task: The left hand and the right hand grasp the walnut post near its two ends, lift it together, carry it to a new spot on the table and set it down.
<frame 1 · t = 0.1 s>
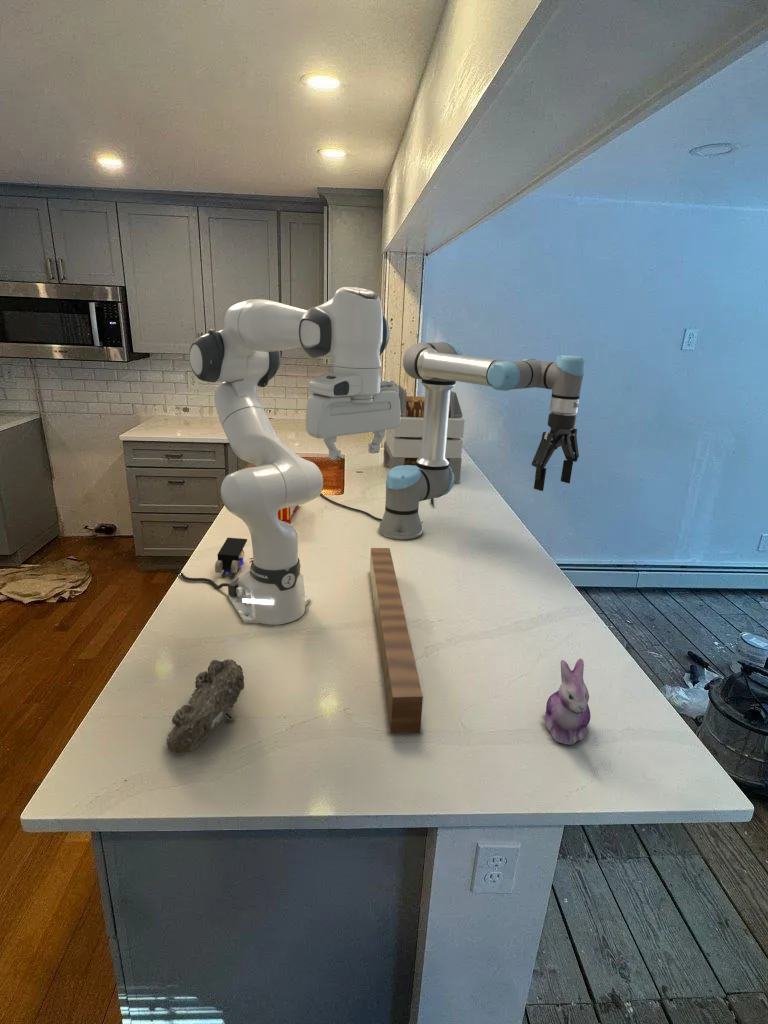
left hand: (354, 455, 108), 48 cm above the counter, tool pointing down, fingers open, 8 cm apart
right hand: (552, 485, 166), 28 cm above the counter, tool pointing down, fingers open, 13 cm apart
feather: (431, 497, 241), on the counter
toy: (282, 516, 211), on the counter
white boxy crate: (419, 473, 275), on the counter
figurine: (566, 729, 109), on the counter
figurine character: (232, 569, 168), on the counter
fossil: (212, 717, 108), on the counter
post: (389, 634, 138), on the counter
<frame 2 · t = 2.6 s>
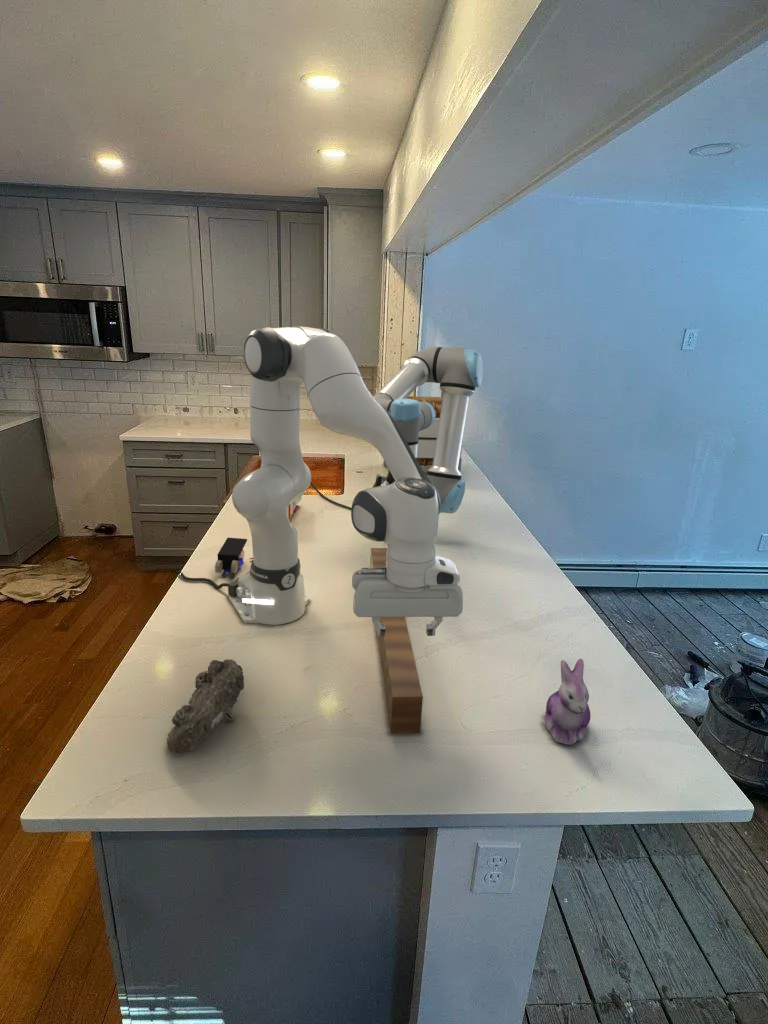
left hand: (405, 634, 107), 17 cm above the counter, tool pointing down, fingers open, 8 cm apart
right hand: (398, 532, 159), 16 cm above the counter, tool pointing down, fingers open, 13 cm apart
nothing on the counter moved.
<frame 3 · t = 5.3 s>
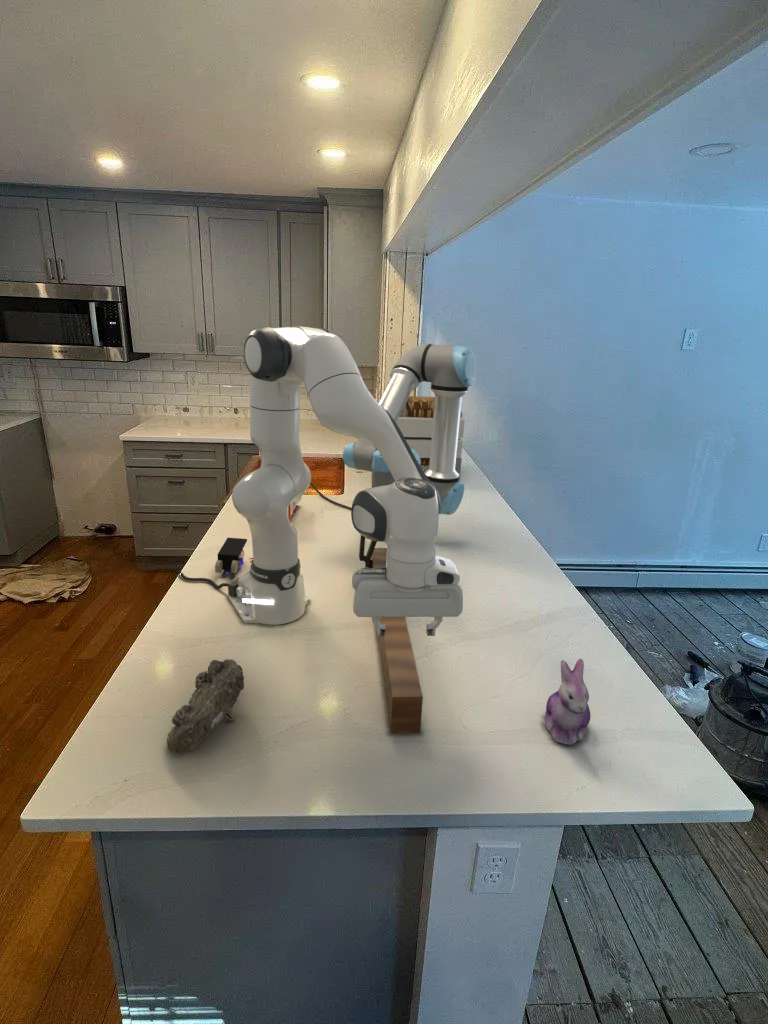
left hand: (405, 634, 107), 17 cm above the counter, tool pointing down, fingers open, 8 cm apart
right hand: (380, 582, 163), 1 cm above the counter, tool pointing down, fingers closed on post, 6 cm apart
post: (389, 634, 138), on the counter, touching right hand
everything else where it was.
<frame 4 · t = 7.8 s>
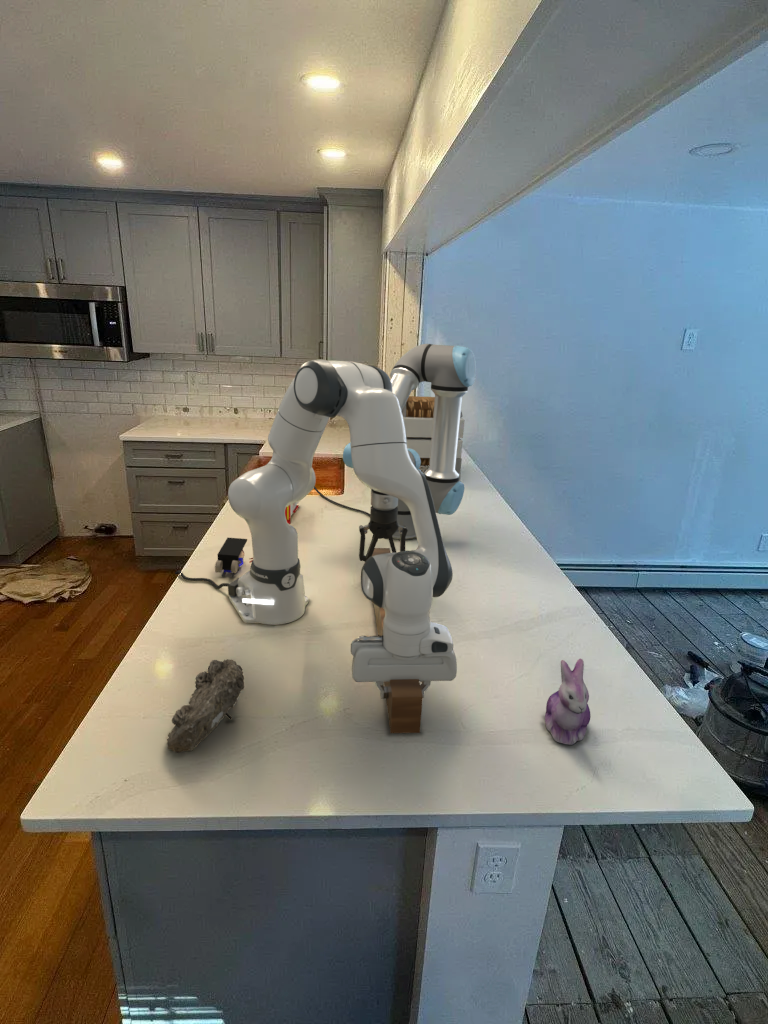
left hand: (402, 696, 112), 3 cm above the counter, tool pointing down, fingers closed on post, 5 cm apart
right hand: (380, 582, 163), 1 cm above the counter, tool pointing down, fingers closed on post, 6 cm apart
post: (389, 634, 138), on the counter, touching right hand, left hand
everything else where it was.
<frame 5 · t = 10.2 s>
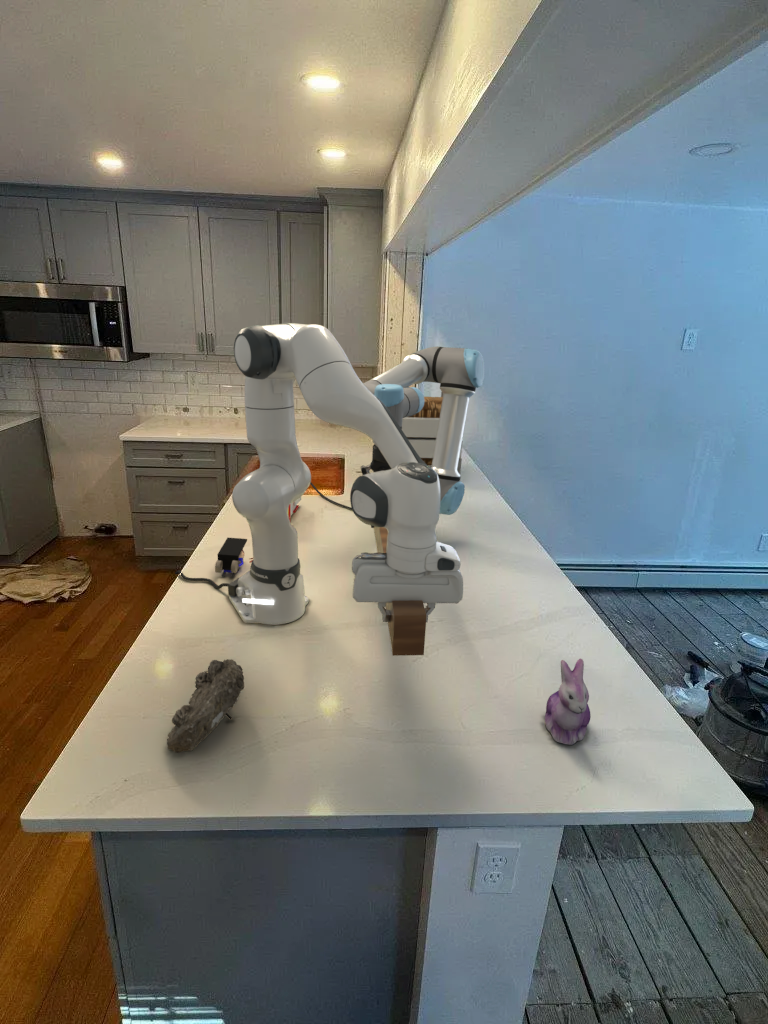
left hand: (404, 620, 106), 20 cm above the counter, tool pointing down, fingers closed on post, 5 cm apart
right hand: (383, 525, 158), 18 cm above the counter, tool pointing down, fingers closed on post, 6 cm apart
post: (392, 571, 132), point 17 cm above the counter, touching right hand, left hand
everything else where it was.
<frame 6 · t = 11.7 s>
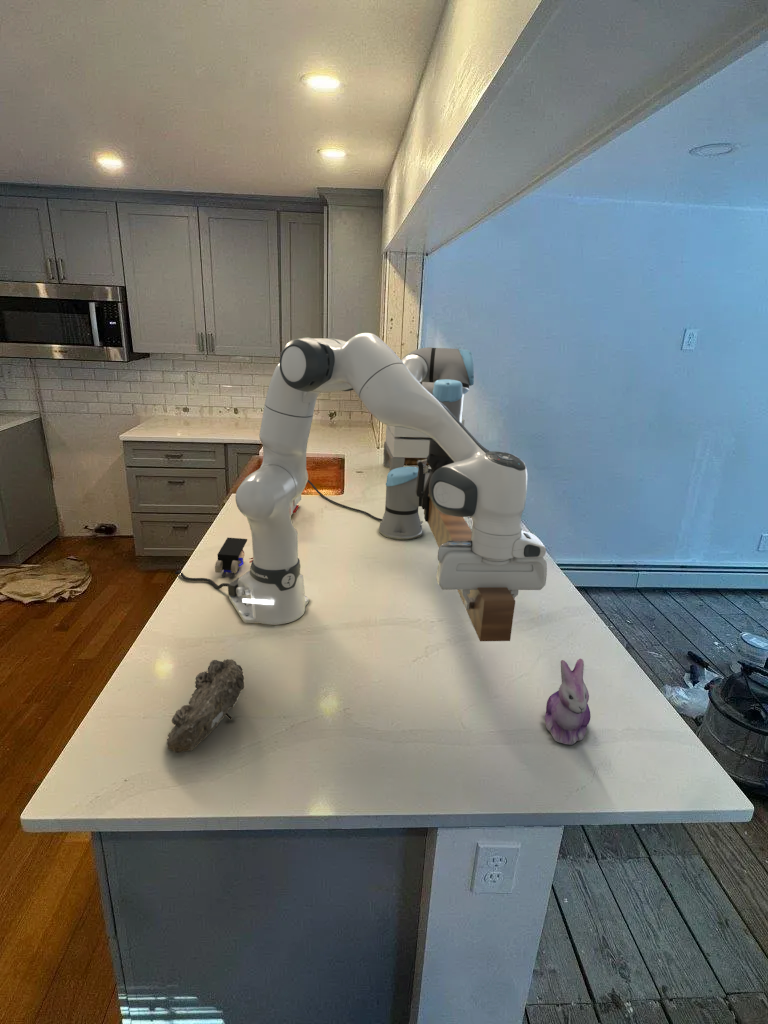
left hand: (487, 608, 108), 22 cm above the counter, tool pointing down, fingers closed on post, 5 cm apart
right hand: (437, 519, 160), 19 cm above the counter, tool pointing down, fingers closed on post, 6 cm apart
post: (456, 562, 134), point 19 cm above the counter, touching right hand, left hand
everything else where it was.
when the left hand's fingers open (4 cm above the counter, at t = 15.4 s): post drops 1 cm, on the counter.
when the right hand's fingers open (2 cm above the counter, at t = 15.4 s): post drops 1 cm, on the counter.
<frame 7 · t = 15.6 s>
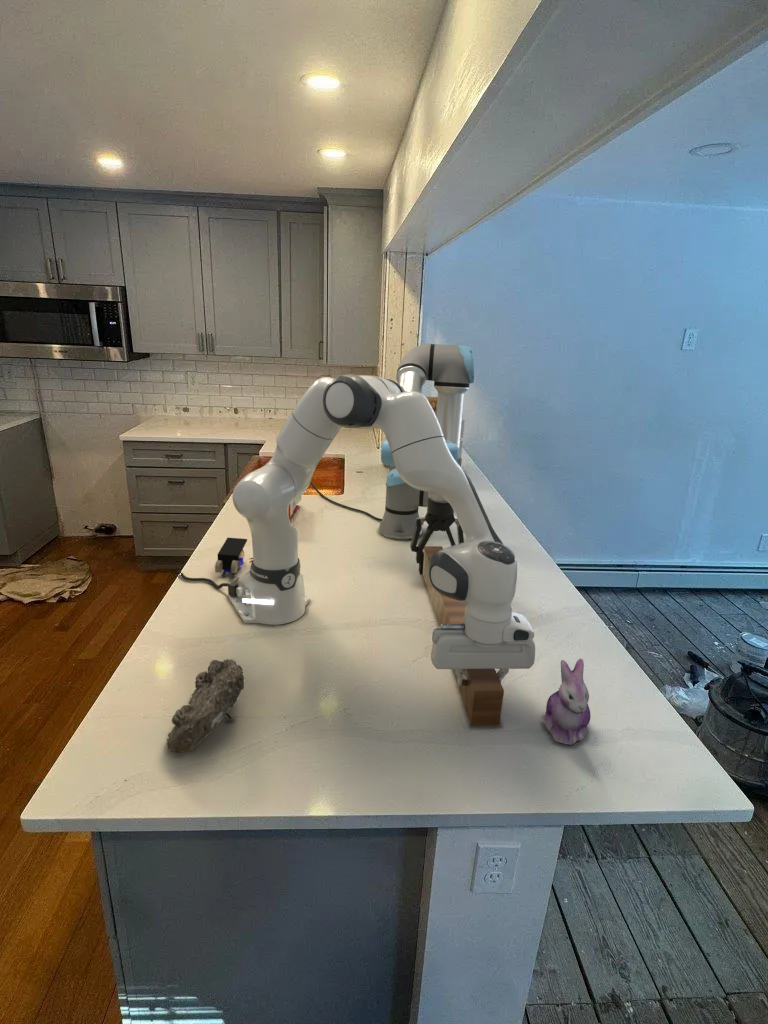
left hand: (478, 683, 114), 4 cm above the counter, tool pointing down, fingers open, 6 cm apart
right hand: (435, 572, 165), 3 cm above the counter, tool pointing down, fingers open, 8 cm apart
post: (451, 631, 141), on the counter, touching left hand
everything else where it was.
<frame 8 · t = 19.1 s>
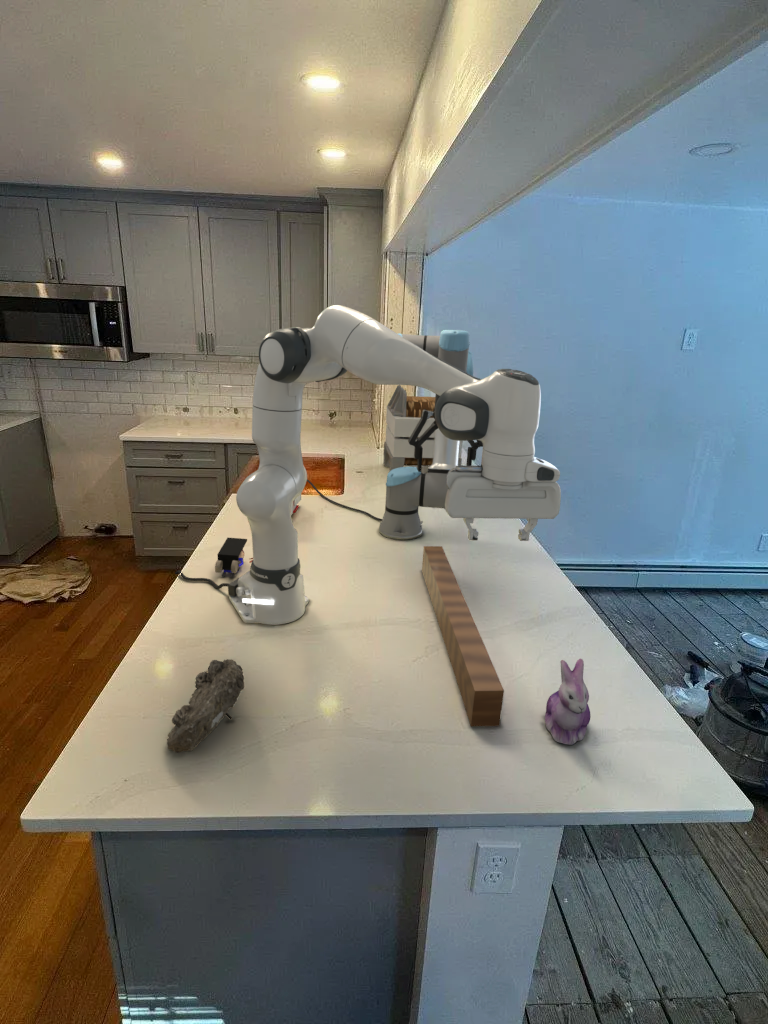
left hand: (497, 539, 103), 36 cm above the counter, tool pointing down, fingers open, 8 cm apart
right hand: (443, 471, 155), 34 cm above the counter, tool pointing down, fingers open, 13 cm apart
post: (451, 631, 141), on the counter
everything else where it was.
at the end: post inside the target area (0.1 cm from its centre), on the counter; post tilted 0°; post never tilted more than 1° during the clip; both hands held the post at the same time; the left hand is holding nothing; the right hand is holding nothing; post at rest at the end (0.0 cm/s) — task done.
